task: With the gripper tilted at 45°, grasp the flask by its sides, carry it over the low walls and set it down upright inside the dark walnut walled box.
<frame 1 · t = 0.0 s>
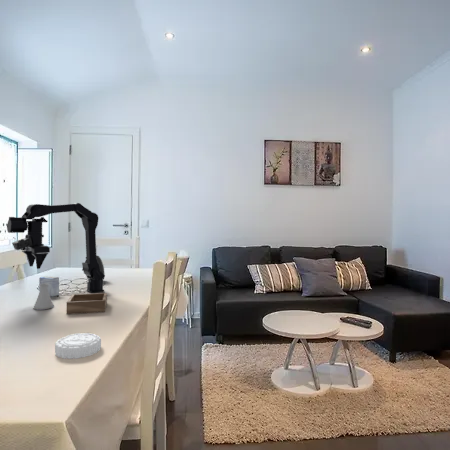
hand: (34, 267, 152), 15 cm above the table, tool pointing down, fingers open, 9 cm apart
walled box: (87, 308, 141), on the table
medicine box: (49, 295, 163), on the table
flask: (43, 308, 141), on the table
mooncake: (78, 351, 97), on the table
pump dispenser: (95, 281, 199), on the table
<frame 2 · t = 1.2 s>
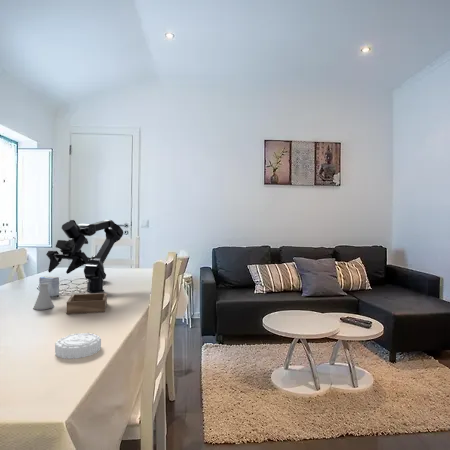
hand: (57, 272, 148), 13 cm above the table, tool tilted 45°, fingers open, 9 cm apart
nothing on the table moved.
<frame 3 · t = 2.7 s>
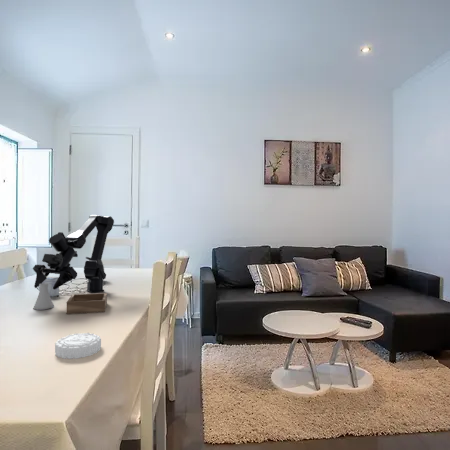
hand: (44, 288, 141), 8 cm above the table, tool tilted 45°, fingers open, 9 cm apart
nothing on the table moved.
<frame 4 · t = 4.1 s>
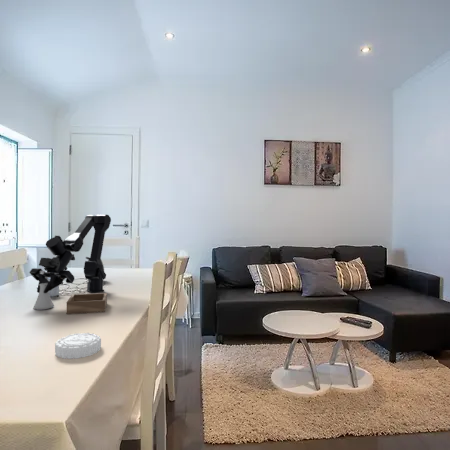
hand: (41, 292, 139), 7 cm above the table, tool tilted 45°, fingers closed on flask, 3 cm apart
flask: (43, 308, 141), on the table, touching gripper
everything else where it was.
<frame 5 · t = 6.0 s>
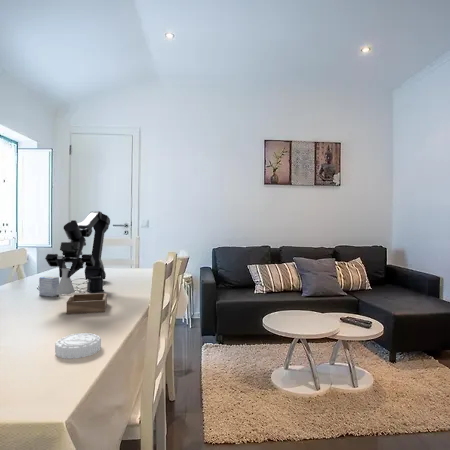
hand: (64, 277, 138), 13 cm above the table, tool tilted 45°, fingers closed on flask, 3 cm apart
flask: (65, 293, 140), point 6 cm above the table, touching gripper
everything else where it was.
when the fingers open (8 cm above the table, at t = 8.1 s): flask stays where it is, resting on walled box.
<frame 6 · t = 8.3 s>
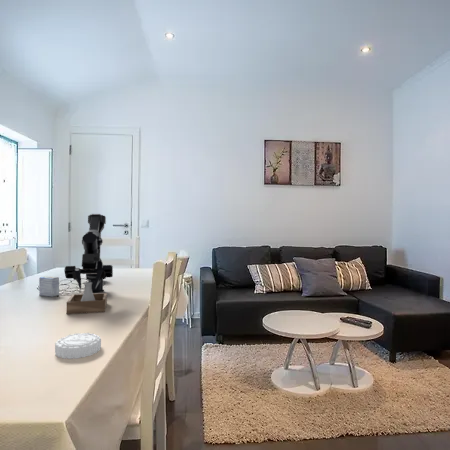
hand: (87, 288, 139), 9 cm above the table, tool tilted 45°, fingers open, 5 cm apart
flask: (88, 307, 141), resting on walled box
everything else where it was.
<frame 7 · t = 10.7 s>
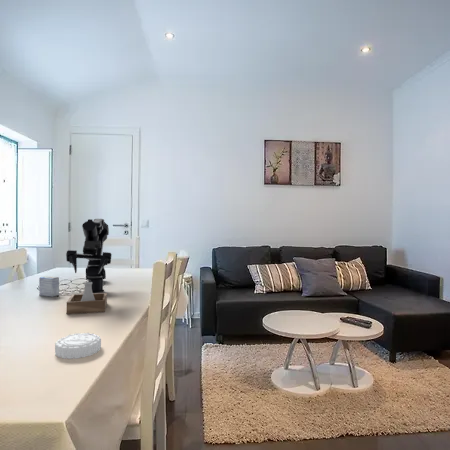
hand: (87, 273, 149), 13 cm above the table, tool tilted 40°, fingers open, 9 cm apart
nothing on the table moved.
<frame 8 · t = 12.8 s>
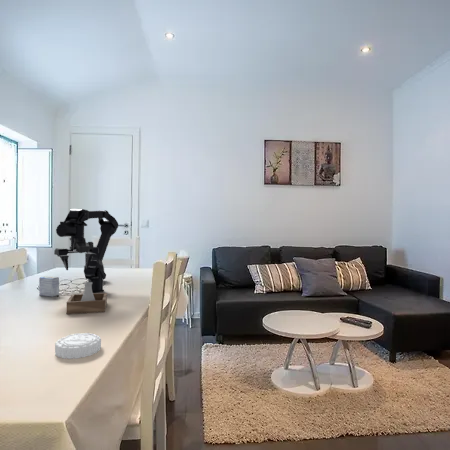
hand: (77, 269, 160), 13 cm above the table, tool pointing down, fingers open, 9 cm apart
nothing on the table moved.
at the end: flask inside the target area on the walled box (0.2 cm from its centre), point 0.4 cm above the walled box's base; flask tilted 0°; the gripper is holding nothing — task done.
